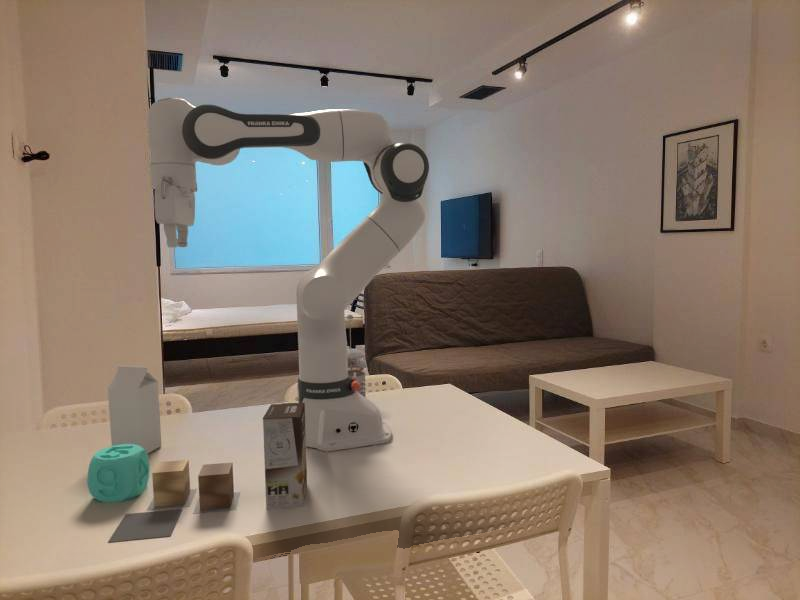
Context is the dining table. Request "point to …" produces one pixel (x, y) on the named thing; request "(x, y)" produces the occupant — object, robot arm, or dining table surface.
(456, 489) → the dining table surface
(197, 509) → the code tile
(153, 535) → the felt pad
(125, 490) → the decorative dice
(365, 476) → the dining table surface
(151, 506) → the code tile
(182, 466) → the oak block
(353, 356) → the french press
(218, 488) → the walnut block
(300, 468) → the coffee box
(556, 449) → the dining table surface
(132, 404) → the milk carton
